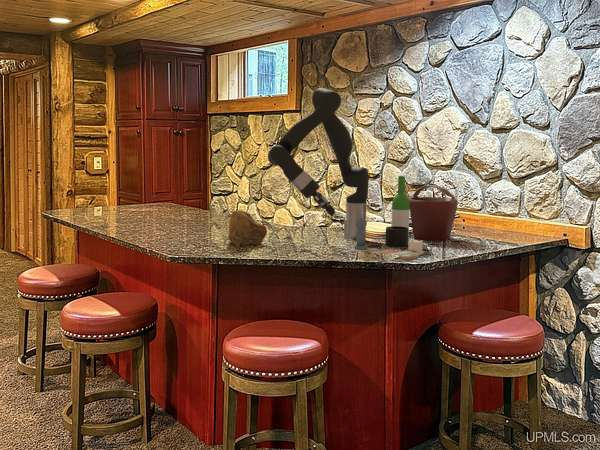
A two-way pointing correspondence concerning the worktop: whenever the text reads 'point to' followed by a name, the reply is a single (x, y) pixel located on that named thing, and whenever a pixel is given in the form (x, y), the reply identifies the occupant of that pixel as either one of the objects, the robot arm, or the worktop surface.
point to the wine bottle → (401, 206)
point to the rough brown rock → (245, 229)
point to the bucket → (432, 215)
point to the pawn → (361, 234)
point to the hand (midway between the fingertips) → (333, 213)
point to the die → (415, 246)
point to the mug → (396, 236)
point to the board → (402, 255)
